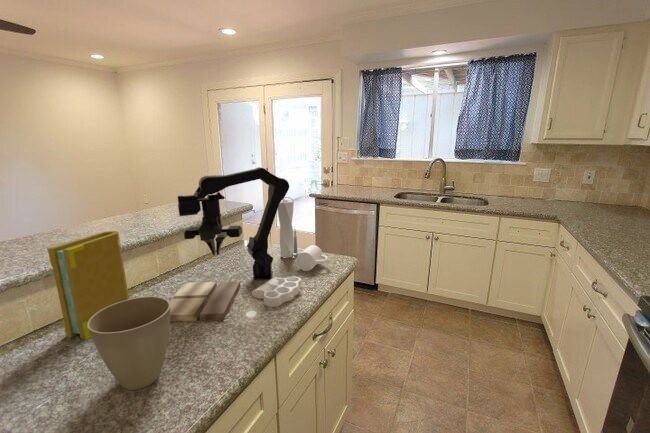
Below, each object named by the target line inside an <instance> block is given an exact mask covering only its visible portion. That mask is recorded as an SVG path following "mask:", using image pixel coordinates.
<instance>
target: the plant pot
mask: <svg viewBox="0 0 650 433" xmlns="http://www.w3.org/2000/svg"><path fill="white" fill-rule="evenodd" d="M170 306H171V305H170V302H169V300H168V299H167V298H164V297H161V296H154V295H153V296H151V295H150V296H139V297H134V298H133V297H132V298H129V299H128V300H124V301H121V302H118V303H115V304H113V305H110V306H108V307H106V308H104V309H102V310H100V311H99V312H97V313H96V314H94V315H93V316H92V317H91V318H90V319H89V321H88V323H87V327H88V330H89V332H90V334H91V337H90V338H91V339H92V341H93V344H94V346H95V348H96V351H97V352H98V354H99V356H100V358H101V359H102V361H103V363H104V364H105V366H106V368H107V369H108V371H109V372H110V373H111V375H112V376H113V377H114V379H115V380H116V381H117V382H118V383H119V384H120V386H121V387H122V388H123V389H124V390H127V391H137V390H141V389H143V388H146V387H149V386H150V385H152V384H153V383H155V381H157V379H158V378H159V377H160V375H161V372H162V370H163V365H164V361H165V358H166V353H167V349H168V342H169V337H170V336H169V335H170V328H171V327H170V323H171V321H170Z"/></svg>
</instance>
